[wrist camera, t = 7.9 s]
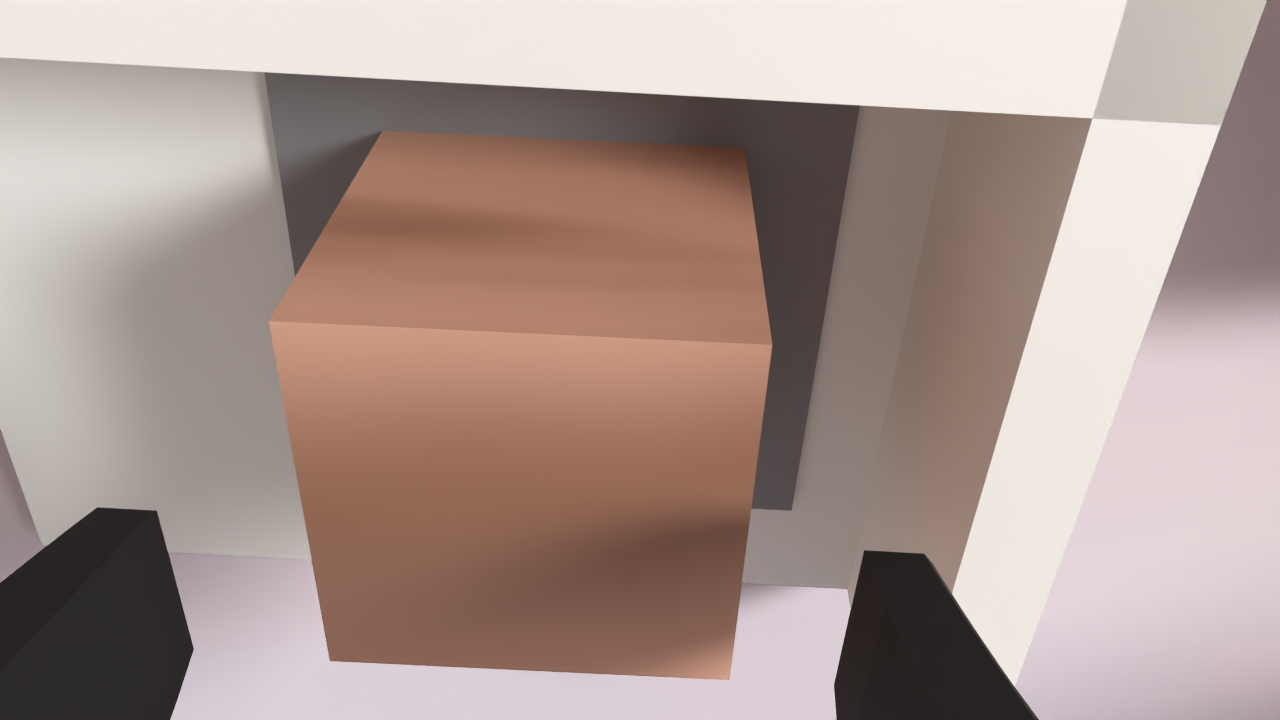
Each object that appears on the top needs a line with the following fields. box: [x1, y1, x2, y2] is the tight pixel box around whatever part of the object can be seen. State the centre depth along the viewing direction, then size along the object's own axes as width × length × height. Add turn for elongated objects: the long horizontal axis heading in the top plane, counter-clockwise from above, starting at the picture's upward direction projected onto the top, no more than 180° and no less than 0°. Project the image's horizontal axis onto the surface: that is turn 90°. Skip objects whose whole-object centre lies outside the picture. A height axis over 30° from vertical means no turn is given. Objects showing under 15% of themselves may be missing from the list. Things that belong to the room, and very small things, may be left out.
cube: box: [269, 131, 772, 680], centre depth 14 cm, size 5×5×5 cm
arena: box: [0, 0, 1267, 687], centre depth 15 cm, size 12×16×6 cm
